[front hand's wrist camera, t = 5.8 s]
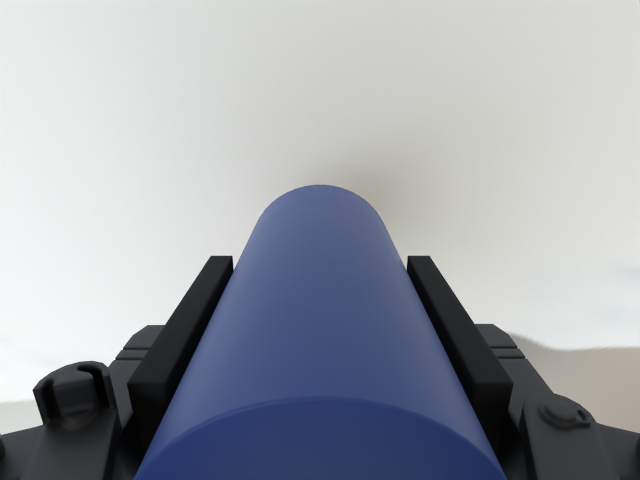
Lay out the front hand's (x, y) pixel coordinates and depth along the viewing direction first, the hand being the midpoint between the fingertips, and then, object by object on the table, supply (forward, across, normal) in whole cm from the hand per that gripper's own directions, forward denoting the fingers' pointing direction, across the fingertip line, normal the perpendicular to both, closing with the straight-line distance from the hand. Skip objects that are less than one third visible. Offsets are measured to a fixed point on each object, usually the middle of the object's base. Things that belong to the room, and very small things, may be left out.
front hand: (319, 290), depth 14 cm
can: (+4, 0, 0) cm, 4 cm away
